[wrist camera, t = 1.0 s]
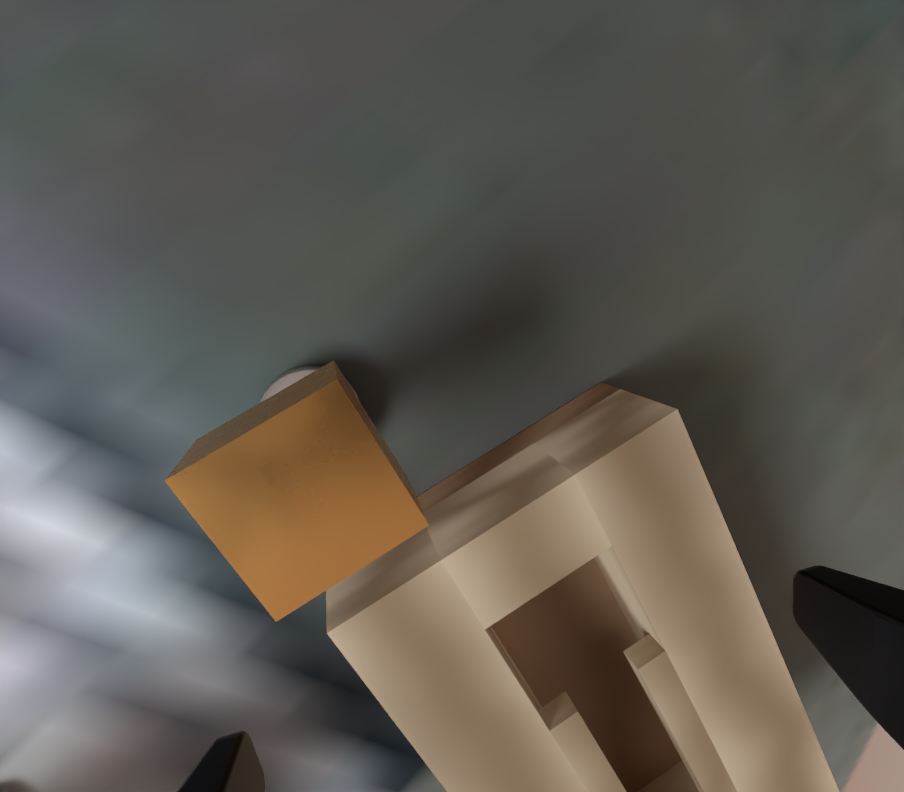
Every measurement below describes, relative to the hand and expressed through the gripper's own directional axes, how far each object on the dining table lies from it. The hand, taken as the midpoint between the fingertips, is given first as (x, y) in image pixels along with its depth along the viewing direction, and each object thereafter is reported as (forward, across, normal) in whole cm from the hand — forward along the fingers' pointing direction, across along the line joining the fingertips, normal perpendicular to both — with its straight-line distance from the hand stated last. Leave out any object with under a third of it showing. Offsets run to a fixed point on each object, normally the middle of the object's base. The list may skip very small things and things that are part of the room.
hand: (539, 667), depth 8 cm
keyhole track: (+13, -4, +12) cm, 18 cm away
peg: (+13, +4, -1) cm, 14 cm away
